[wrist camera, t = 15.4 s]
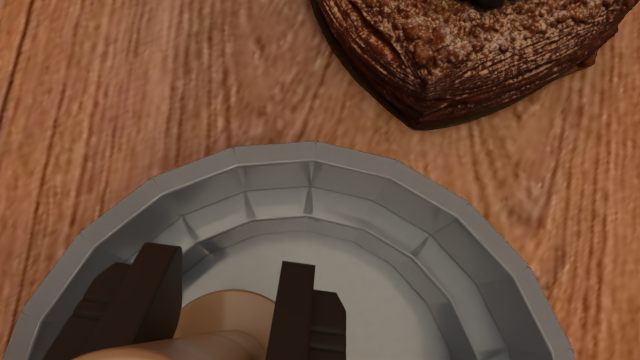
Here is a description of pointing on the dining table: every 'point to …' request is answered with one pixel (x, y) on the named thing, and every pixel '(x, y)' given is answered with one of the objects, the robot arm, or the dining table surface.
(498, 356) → the bowl
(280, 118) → the dining table surface
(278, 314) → the robot arm
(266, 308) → the peg on round base
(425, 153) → the dining table surface
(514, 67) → the pastry
